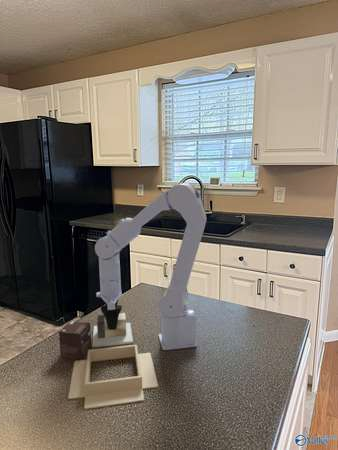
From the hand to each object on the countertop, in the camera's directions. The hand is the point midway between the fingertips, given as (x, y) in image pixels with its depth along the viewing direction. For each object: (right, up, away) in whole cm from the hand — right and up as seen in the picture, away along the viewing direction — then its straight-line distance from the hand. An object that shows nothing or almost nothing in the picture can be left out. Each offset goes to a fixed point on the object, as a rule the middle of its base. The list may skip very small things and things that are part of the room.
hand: (112, 322), depth 92 cm
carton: (+3, -7, -17) cm, 18 cm away
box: (-8, -6, -8) cm, 13 cm away
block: (0, -3, +1) cm, 3 cm away
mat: (0, -4, +1) cm, 4 cm away
